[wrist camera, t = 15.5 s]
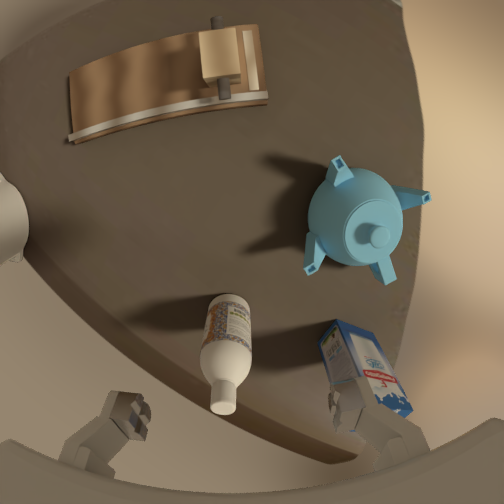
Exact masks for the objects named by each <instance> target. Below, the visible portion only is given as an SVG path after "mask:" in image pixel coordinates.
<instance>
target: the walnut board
mask: <svg viewBox="0 0 504 504" xmlns="http://www.w3.org/2000/svg"><path fill="white" fill-rule="evenodd" d="M226 28H235V29H236V38H237V46H238V55H239V64H240V72H241V84H234V85H230V90H231V99H227V100H219V96H218V87H211V88H210V87H209V86H208V85H207V83H206V82H205V80H204V79H203V73H202V63H201V53H200V42H199V32H204V31H211V30H212V29H208V30H202V31H196V32H191V33H186V34H181V35H176V36H172V37H167V38H163V39H159V40H156V41H152V42H148V43H145V44H142V45H138V46H135V47H132V48H129V49H126V50H123V51H120V52H117V53H114V54H111V55H109V56H106V57H104V58H101V59H99V60H96V61H94V62H91V63H89V64H87V65H84V66H82V67H80V68H78V69H75V70H73V71H71V72H69V74H70V99H71V113H72V124H73V133H72V134H70V135H68V137H69V142H70V141H75V144H80V143H84V142H87V141H90V140H93V139H96V138H99V137H102V136H105V135H108V134H112V133H115V132H119V131H122V130H126V129H129V128H133V127H137V126H141V125H145V124H149V123H153V122H158V121H162V120H167V119H172V118H177V117H182V116H187V115H193V114H199V113H205V112H211V111H218V110H226V109H234V108H243V107H253V106H265V105H267V104H268V101H267V100H268V91H266V84H265V75H264V67H263V59H262V52H261V44H260V37H259V29H258V24H252V25H240V26H230V27H224V29H226Z"/></svg>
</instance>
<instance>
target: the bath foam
mask: <svg viewBox="0 0 504 504" xmlns="http://www.w3.org/2000/svg"><path fill="white" fill-rule="evenodd" d="M251 361H252V347H251V320H250V309H249V306H248V304H247V302H246V301H245V300H244V299H243V298H241V297H239V296H237V295H233V294H223V295H220V296H218V297H216V298H215V299H213V300H212V302H211V303H210V305H209V308H208V313H207V318H206V324H205V329H204V335H203V341H202V346H201V352H200V365H201V369H202V372H203V374H204V376H205V378H206V379H207V380H208V382H209V383H210V384H211V386H212V391H211V403H210V408H211V410H212V411H213V412H214V413H216V414H220V415H228V414H231V413H233V412H234V411H235V409H236V388H237V387H238V386H239V385H240V384H241V383H242V382H243V381H244V379H245V378H246V376H247V375H248V373H249V370H250V367H251Z"/></svg>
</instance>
